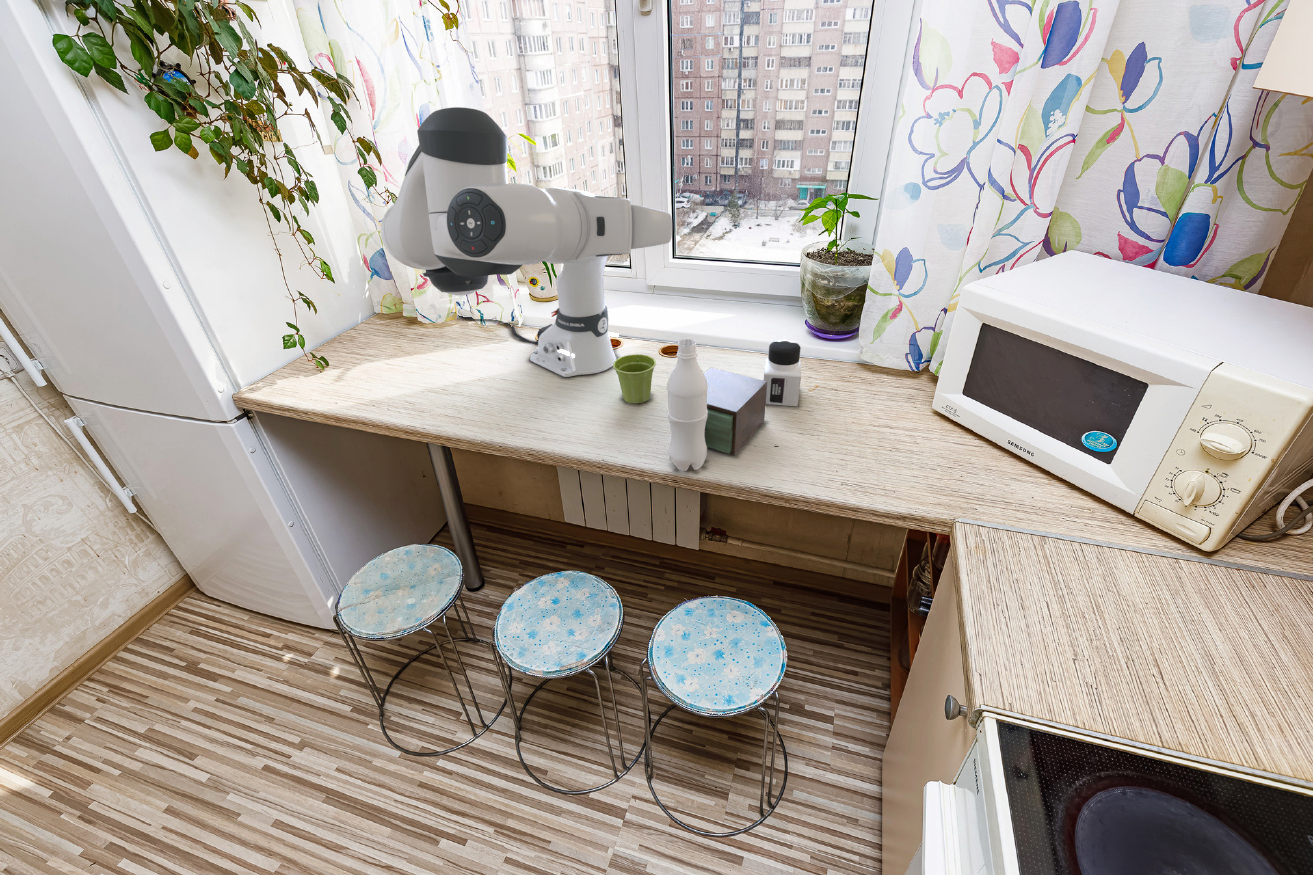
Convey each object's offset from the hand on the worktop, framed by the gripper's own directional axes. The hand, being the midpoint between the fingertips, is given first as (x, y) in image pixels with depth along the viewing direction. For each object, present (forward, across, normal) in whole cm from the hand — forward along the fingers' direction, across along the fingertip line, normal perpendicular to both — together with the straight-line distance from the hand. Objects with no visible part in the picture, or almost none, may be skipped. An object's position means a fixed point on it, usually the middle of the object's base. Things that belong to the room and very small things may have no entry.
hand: (632, 229), depth 87 cm
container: (+49, +6, -35) cm, 61 cm away
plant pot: (+34, -22, -36) cm, 54 cm away
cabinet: (+31, 0, -38) cm, 50 cm away
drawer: (+29, 0, -38) cm, 48 cm away
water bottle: (+18, 0, -42) cm, 46 cm away
